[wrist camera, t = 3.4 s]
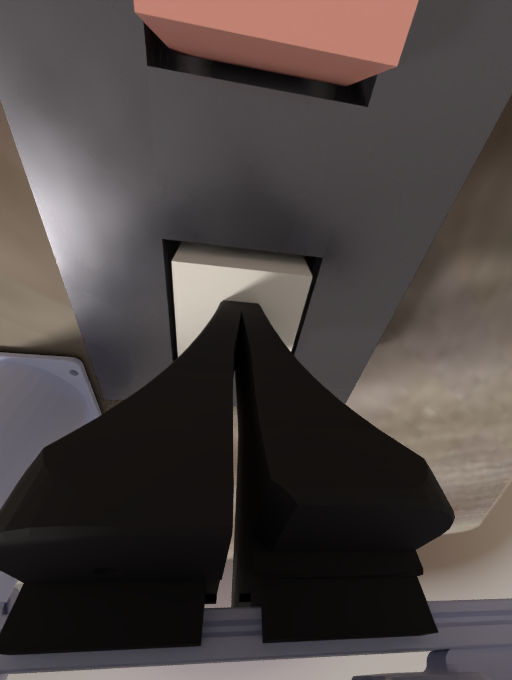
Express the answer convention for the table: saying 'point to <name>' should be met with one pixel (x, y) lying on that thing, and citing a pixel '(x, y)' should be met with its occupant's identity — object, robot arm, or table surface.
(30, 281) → the table surface
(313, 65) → the red key
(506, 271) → the table surface
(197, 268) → the cream key
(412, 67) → the grey flat block
